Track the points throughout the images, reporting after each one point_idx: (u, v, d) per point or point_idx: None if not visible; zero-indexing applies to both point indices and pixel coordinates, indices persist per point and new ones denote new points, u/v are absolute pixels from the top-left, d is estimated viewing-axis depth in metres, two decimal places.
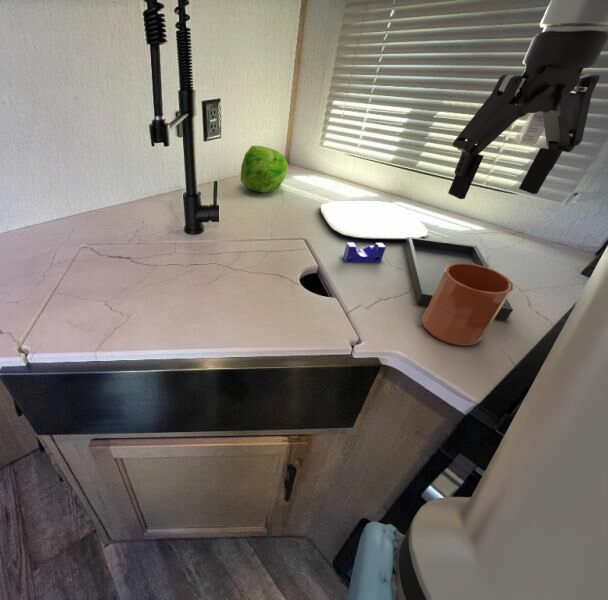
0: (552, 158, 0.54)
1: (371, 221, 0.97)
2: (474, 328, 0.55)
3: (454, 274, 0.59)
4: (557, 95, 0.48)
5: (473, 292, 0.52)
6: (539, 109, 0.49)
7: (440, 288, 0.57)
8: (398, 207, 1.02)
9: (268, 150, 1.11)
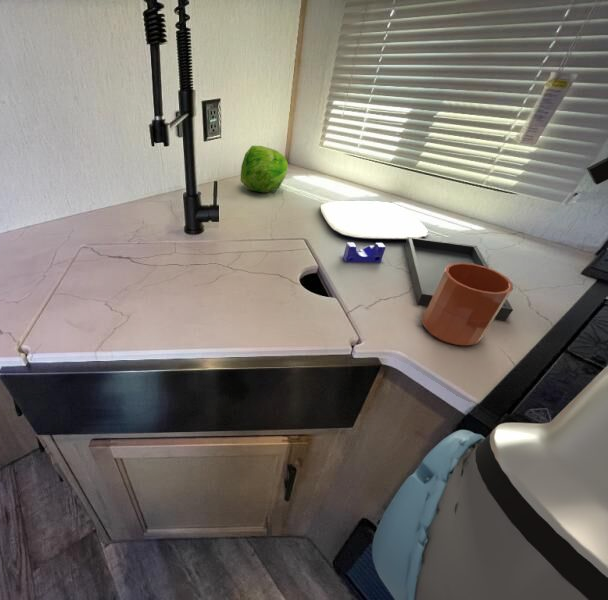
0: None
1: (371, 221, 0.97)
2: (474, 328, 0.55)
3: (454, 274, 0.59)
4: None
5: (473, 292, 0.52)
6: None
7: (440, 288, 0.57)
8: (398, 207, 1.02)
9: (268, 150, 1.11)
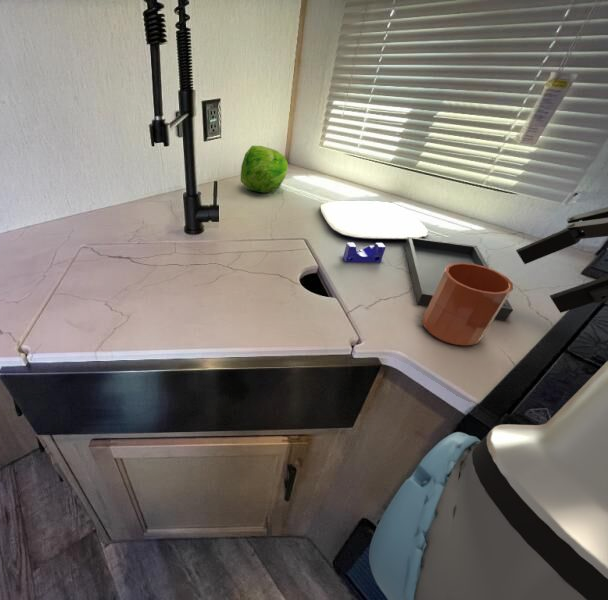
0: (605, 277, 0.44)
1: (371, 221, 0.97)
2: (474, 328, 0.55)
3: (454, 274, 0.59)
4: None
5: (473, 292, 0.52)
6: None
7: (440, 288, 0.57)
8: (398, 207, 1.02)
9: (268, 150, 1.11)
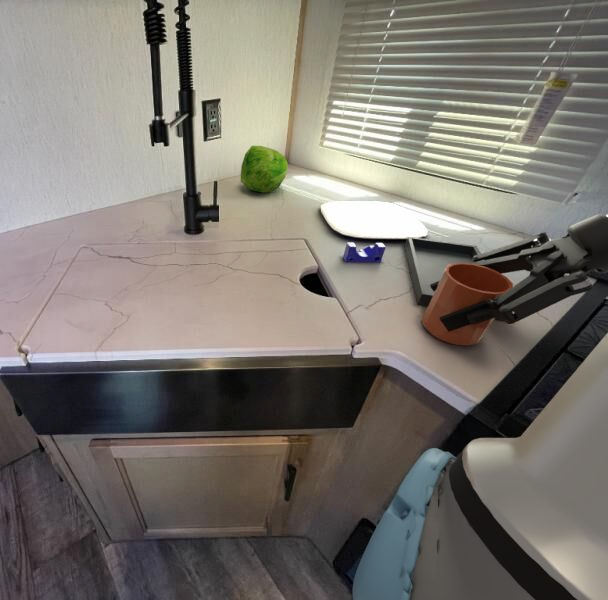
0: (479, 303, 0.52)
1: (371, 221, 0.97)
2: (474, 328, 0.55)
3: (454, 274, 0.59)
4: None
5: (473, 292, 0.52)
6: (533, 261, 0.51)
7: (440, 288, 0.57)
8: (398, 207, 1.02)
9: (268, 150, 1.11)
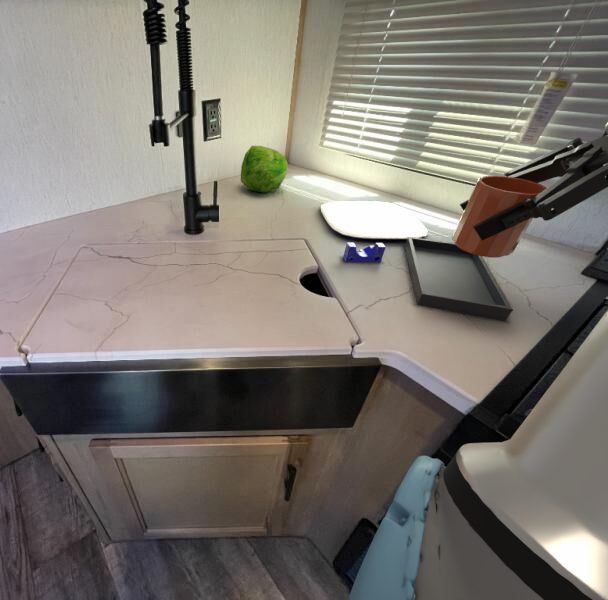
0: (514, 206, 0.53)
1: (371, 221, 0.97)
2: (508, 236, 0.55)
3: None
4: None
5: (509, 195, 0.52)
6: (569, 162, 0.51)
7: (473, 199, 0.57)
8: (398, 207, 1.02)
9: (268, 150, 1.11)
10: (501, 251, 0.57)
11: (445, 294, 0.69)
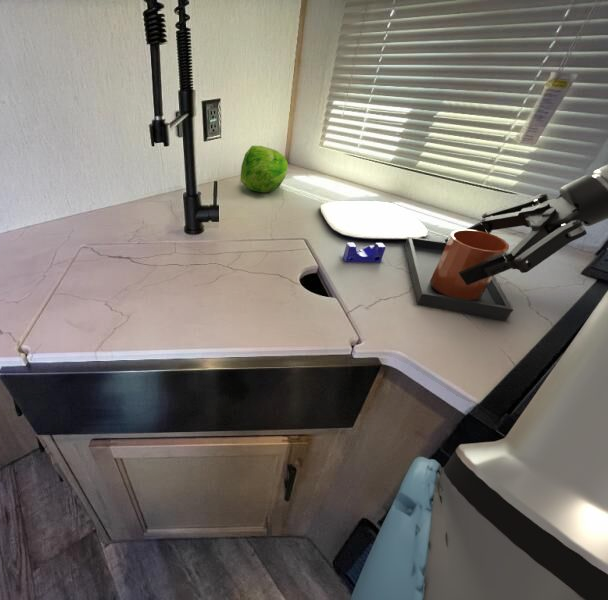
0: (495, 257, 0.59)
1: (371, 221, 0.97)
2: (476, 284, 0.64)
3: (458, 239, 0.68)
4: None
5: (475, 251, 0.61)
6: (530, 219, 0.60)
7: (446, 250, 0.66)
8: (398, 207, 1.02)
9: (268, 150, 1.11)
10: (470, 296, 0.66)
11: None
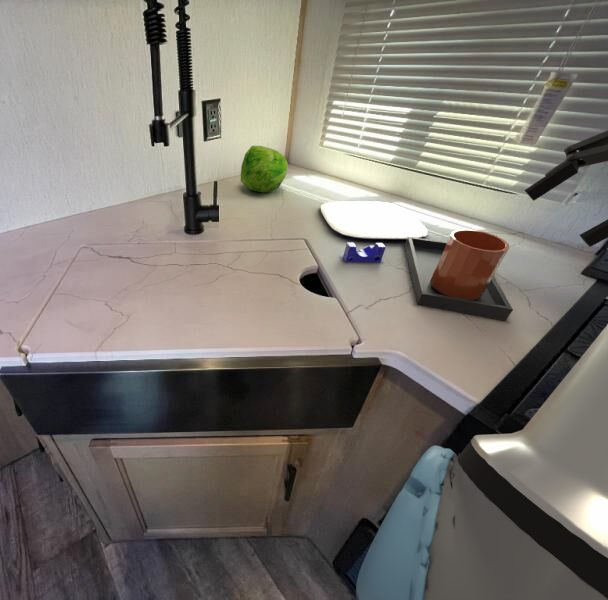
0: None
1: (371, 221, 0.97)
2: (476, 284, 0.64)
3: (458, 239, 0.68)
4: None
5: (475, 251, 0.61)
6: None
7: (446, 250, 0.66)
8: (398, 207, 1.02)
9: (268, 150, 1.11)
10: (470, 296, 0.66)
11: None
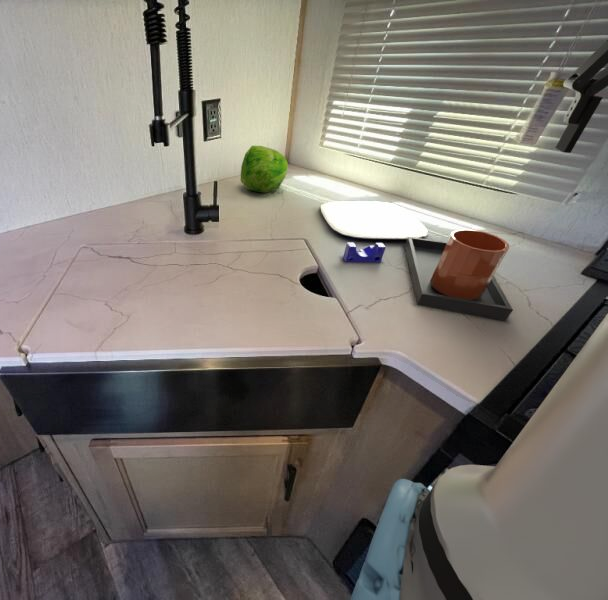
0: None
1: (371, 221, 0.97)
2: (476, 284, 0.64)
3: (458, 239, 0.68)
4: None
5: (475, 251, 0.61)
6: None
7: (446, 250, 0.66)
8: (398, 207, 1.02)
9: (268, 150, 1.11)
10: (470, 296, 0.66)
11: None
